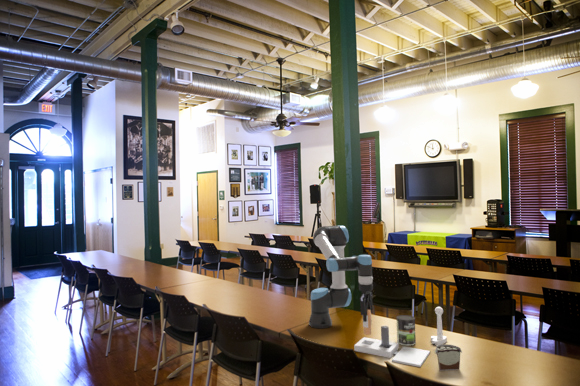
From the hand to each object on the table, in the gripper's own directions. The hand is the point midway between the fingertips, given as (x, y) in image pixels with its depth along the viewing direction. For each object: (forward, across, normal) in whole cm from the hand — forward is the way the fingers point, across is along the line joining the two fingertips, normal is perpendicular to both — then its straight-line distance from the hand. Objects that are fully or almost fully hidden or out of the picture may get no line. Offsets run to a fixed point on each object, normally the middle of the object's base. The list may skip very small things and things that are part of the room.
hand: (367, 325), depth 213 cm
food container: (+13, -5, -42) cm, 44 cm away
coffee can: (+13, +18, -16) cm, 27 cm away
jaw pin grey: (+12, 0, -10) cm, 16 cm away
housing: (+12, 0, -5) cm, 13 cm away
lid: (+12, -1, -23) cm, 26 cm away
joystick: (+13, +27, -31) cm, 43 cm away
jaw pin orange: (+4, 0, 0) cm, 4 cm away
